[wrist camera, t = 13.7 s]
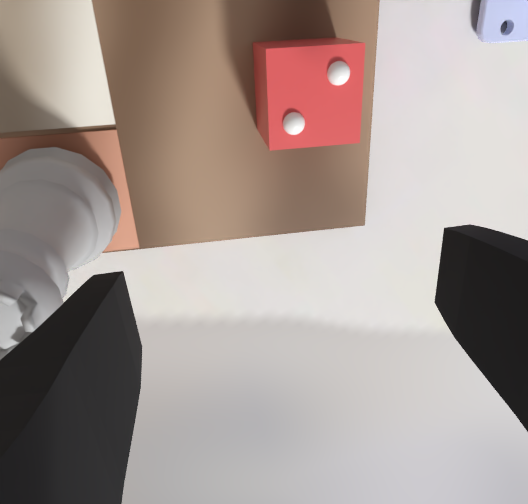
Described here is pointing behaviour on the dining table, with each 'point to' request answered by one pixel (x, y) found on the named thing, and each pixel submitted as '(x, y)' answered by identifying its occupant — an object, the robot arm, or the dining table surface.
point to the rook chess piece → (48, 233)
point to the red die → (308, 92)
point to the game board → (181, 112)
